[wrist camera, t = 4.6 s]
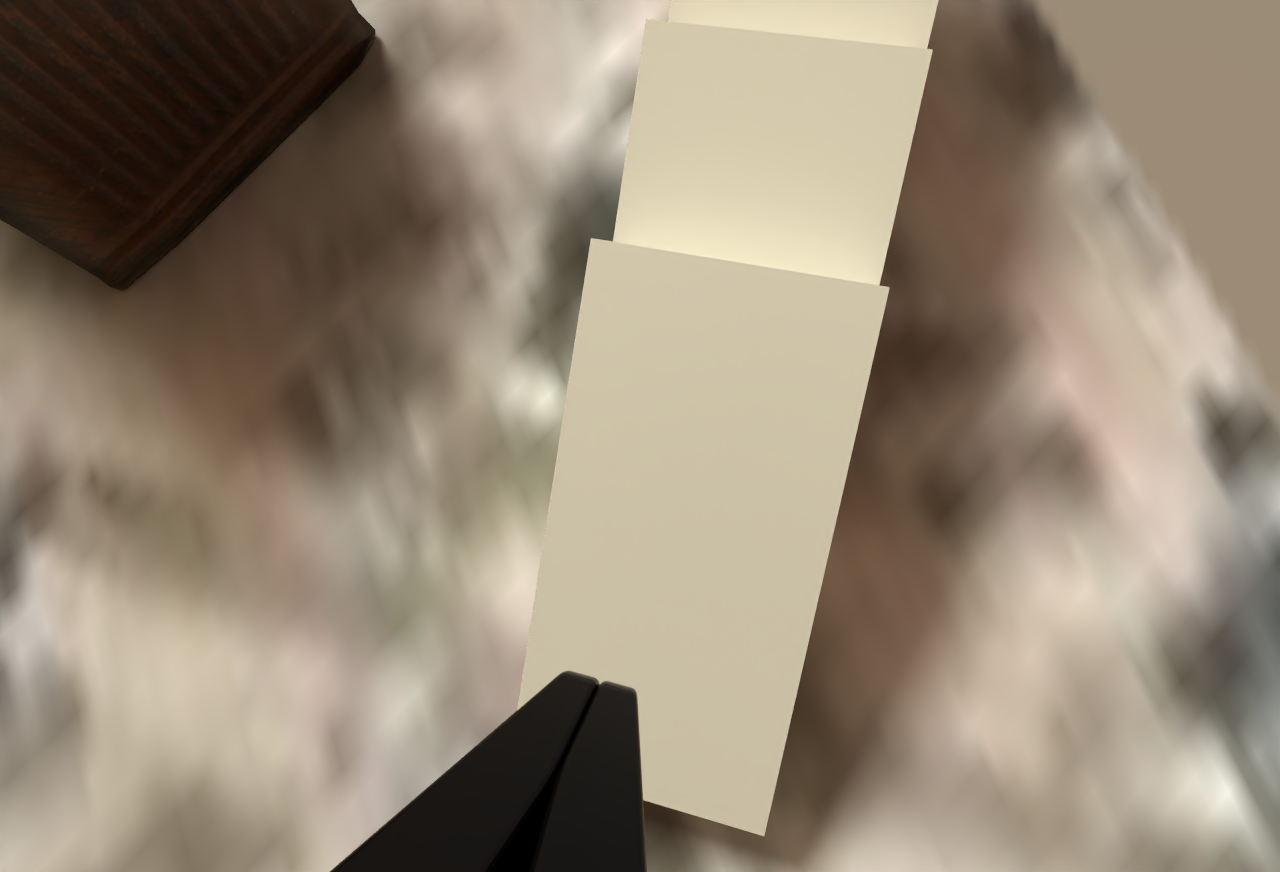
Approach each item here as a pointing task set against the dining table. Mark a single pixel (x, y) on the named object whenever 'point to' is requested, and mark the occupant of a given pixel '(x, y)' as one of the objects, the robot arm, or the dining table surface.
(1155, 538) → the dining table surface
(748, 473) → the domino
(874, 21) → the domino
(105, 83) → the dark brown boxy piece
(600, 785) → the robot arm
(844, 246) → the domino
